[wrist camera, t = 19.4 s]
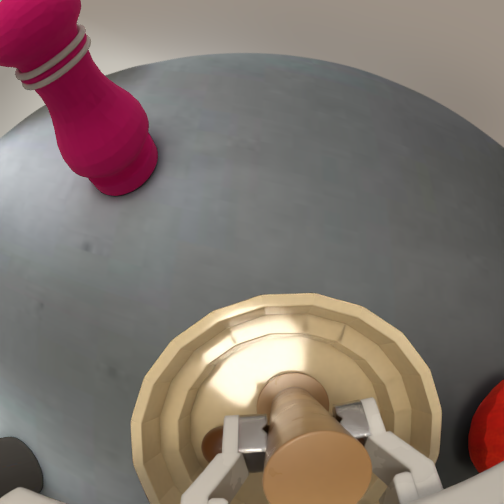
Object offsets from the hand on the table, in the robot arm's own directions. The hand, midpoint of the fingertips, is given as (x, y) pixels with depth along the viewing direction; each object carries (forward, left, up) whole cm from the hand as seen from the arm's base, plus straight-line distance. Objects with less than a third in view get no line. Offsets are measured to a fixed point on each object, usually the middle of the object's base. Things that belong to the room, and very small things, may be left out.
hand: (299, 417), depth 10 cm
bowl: (-2, 0, -9) cm, 9 cm away
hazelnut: (-3, +4, -7) cm, 8 cm away
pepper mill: (+18, +13, -9) cm, 24 cm away
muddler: (-1, 0, -7) cm, 7 cm away
